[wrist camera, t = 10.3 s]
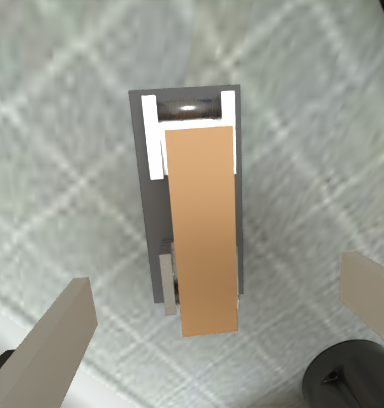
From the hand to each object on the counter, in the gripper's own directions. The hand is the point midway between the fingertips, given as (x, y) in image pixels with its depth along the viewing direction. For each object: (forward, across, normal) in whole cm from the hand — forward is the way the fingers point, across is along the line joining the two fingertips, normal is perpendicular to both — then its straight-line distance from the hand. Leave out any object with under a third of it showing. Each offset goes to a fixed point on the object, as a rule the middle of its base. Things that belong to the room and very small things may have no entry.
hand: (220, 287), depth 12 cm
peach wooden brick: (+15, 0, -1) cm, 15 cm away
